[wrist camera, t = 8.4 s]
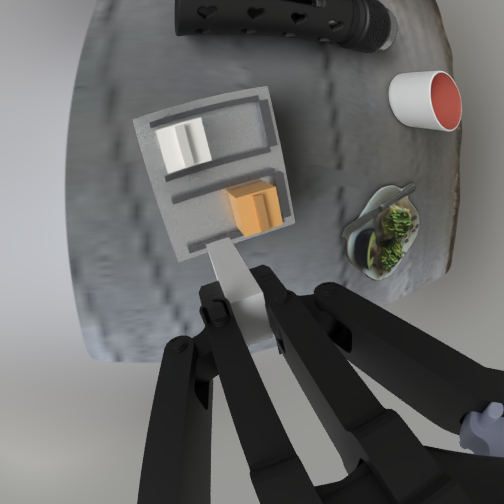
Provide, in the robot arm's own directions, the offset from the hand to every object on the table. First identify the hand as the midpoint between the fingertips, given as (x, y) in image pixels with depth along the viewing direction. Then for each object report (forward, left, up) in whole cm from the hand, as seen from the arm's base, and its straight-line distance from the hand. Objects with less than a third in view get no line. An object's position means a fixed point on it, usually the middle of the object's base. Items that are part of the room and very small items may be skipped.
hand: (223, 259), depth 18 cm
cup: (-39, -8, -21) cm, 45 cm away
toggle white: (0, -7, -12) cm, 14 cm away
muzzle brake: (-17, -22, -21) cm, 35 cm away
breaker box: (-3, -3, -21) cm, 21 cm away
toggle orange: (-5, +1, -12) cm, 13 cm away
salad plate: (-30, +16, -21) cm, 40 cm away
